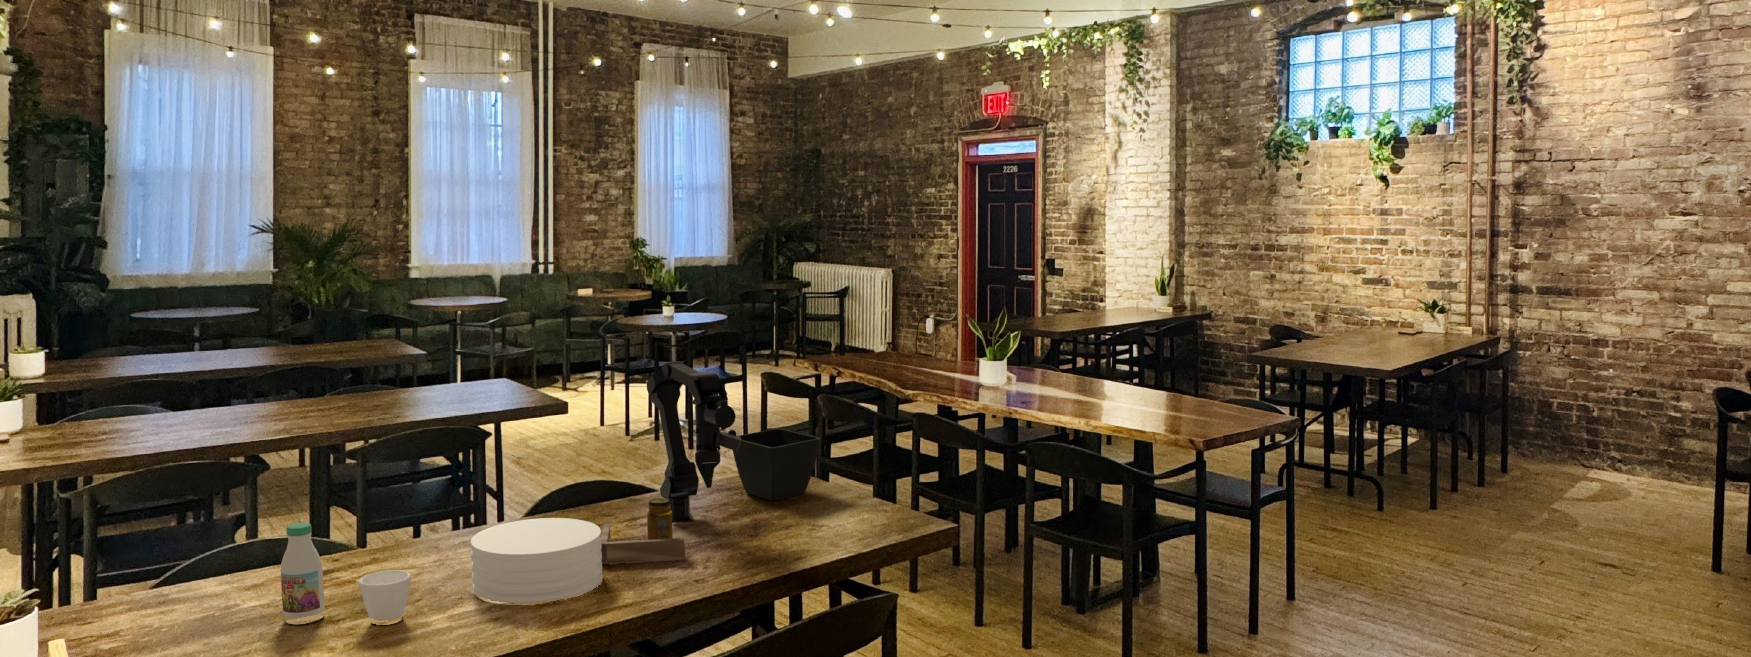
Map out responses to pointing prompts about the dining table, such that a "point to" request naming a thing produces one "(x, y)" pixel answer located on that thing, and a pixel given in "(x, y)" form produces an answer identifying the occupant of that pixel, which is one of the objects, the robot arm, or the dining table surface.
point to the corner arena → (640, 549)
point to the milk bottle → (301, 574)
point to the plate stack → (536, 560)
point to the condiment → (659, 519)
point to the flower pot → (776, 463)
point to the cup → (385, 593)
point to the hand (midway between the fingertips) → (709, 483)
